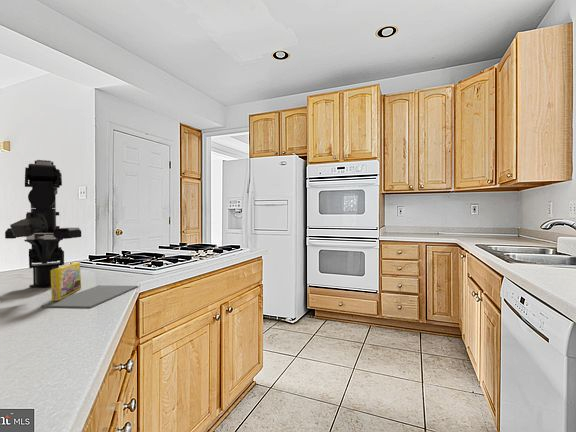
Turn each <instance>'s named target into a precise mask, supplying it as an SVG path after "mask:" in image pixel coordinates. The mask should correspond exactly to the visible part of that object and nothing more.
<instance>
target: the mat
mask: <svg viewBox="0 0 576 432" xmlns="http://www.w3.org/2000/svg"><path fill="white" fill-rule="evenodd" d="M137 288H139V285H101V284H100V285H99V284H98V285H95V286H93V287H91V288H88V289H87V288H86V289H85V290H82V291H78V292H77V293H72V294H70V295H68V296H66V297H65V298H63V299H61V300H59V301H53V302H52V301H50V302H48V303H45V304H41V306H40V307H41V308H55V309H56V308H62V309H63V308H64V309H65V308H67V309H70V308H71V309H92V308H94V307H96V306H98V305H101V304H103V303H105V302H107V301H110V300H113V299H115V298H117V297H119V296H121V295H124V294H125V293H128V292H130V291H133V290H135V289H137Z"/></svg>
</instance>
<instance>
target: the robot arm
mask: <svg viewBox="0 0 576 432" xmlns="http://www.w3.org/2000/svg"><path fill="white" fill-rule="evenodd" d="M24 167H25V166H24ZM24 170H25V171H24V187H25V188H31V189H30V191H29V192H28V195H27V199H28V202H29V204H30V211H28V212H26V214H25V218H23V219H20V220H18V221H15V222H13V223H12V224H10V228H7V229H6V230H5V232H4V239H7V240H8V239H11V240H12V239H13V240H14V239H16V238H26V239H24V242H25V243H26V242H27V243H29V244H30V245H31V248H29V249H28V263H29V264H28V267H29V269H32V274H33V275H32V277H33V280H32V281H33V284H30V285H29V287H30V288H49V287H50V288H51V270H53V269H56V268H59V266H60V267H62V266H65V250H63V248H62V246H61V247H60V245H59V244H60V241H63V240H64V239H65V240H66V239H67V240H68V239H77V238H82V230H81V229H80V228H79V227H60V225H57V216H60V212H59V211H57V210H56V209H57V207H56V205H57V201H56V195H58V189H59V188H60V187H61V186H63V180H62V179H63V178H62V177H63V176H62V172H61V170H60V169H59V168H57V166H56V164H54V161H51V160H45V159H37V160H34V163H28V166H27V167H25V169H24Z"/></svg>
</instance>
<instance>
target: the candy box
mask: <svg viewBox="0 0 576 432" xmlns="http://www.w3.org/2000/svg"><path fill="white" fill-rule="evenodd" d="M81 275H82V273H81V262H72V263H69V264H64V265H62V266H60V267H59V268H56V269H53V270H51V286H50V290H51V302H53V301H59V300H61V299H63V298H65V297H67V296H70V295H73V294H75V292H77V291H79V290H81V289H82V278H81V277H82V276H81Z"/></svg>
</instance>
